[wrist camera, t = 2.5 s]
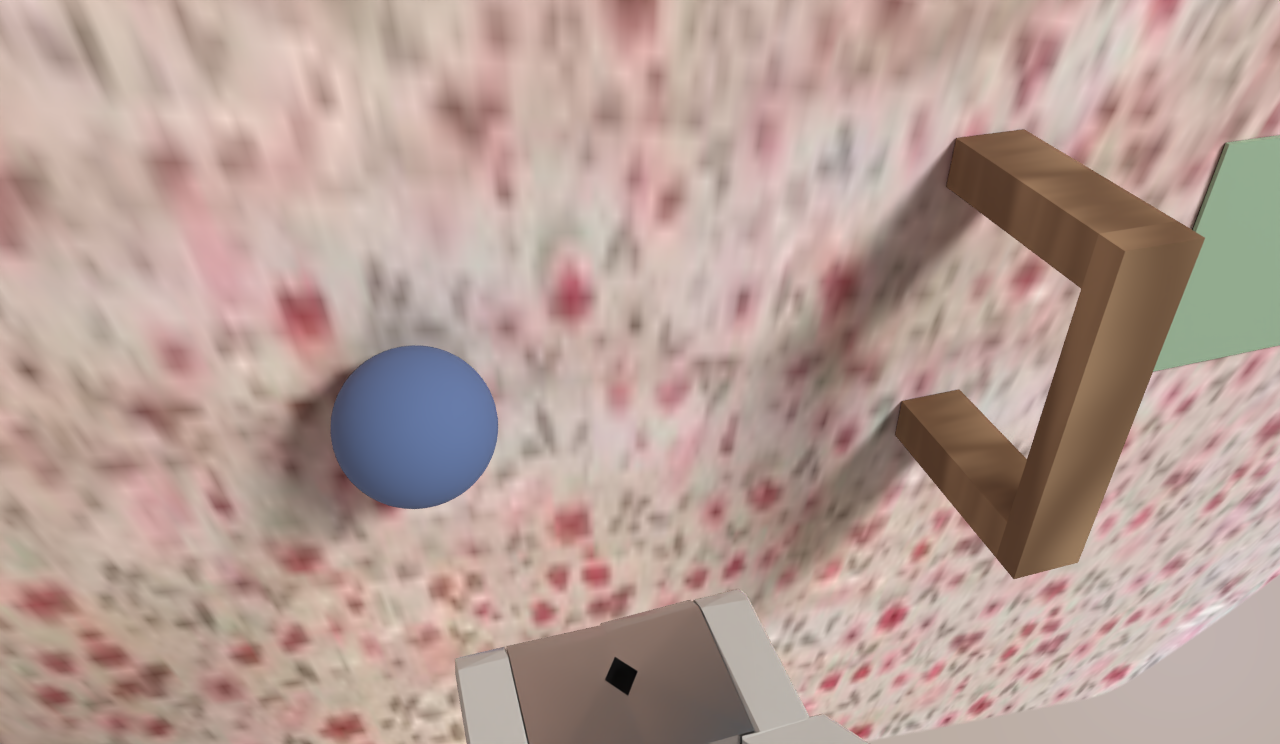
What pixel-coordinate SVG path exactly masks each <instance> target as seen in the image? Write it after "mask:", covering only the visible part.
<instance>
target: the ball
mask: <svg viewBox="0 0 1280 744" xmlns="http://www.w3.org/2000/svg"><path fill="white" fill-rule="evenodd" d="M497 435H498V417H497V412H496V407H495V403H494V400H493V397H492V395H491V393H490V390H489V389H488V387H487V385H486V383H485V382H484V381H483V379H482V378H481V377H480V375H479V374H478V373H477V372H476V371H475V370H474V369H473V368H472V367H471V366H470V365H469V364H467V363H466V362H465V361H463V360H462V359H460V358H459V357H457V356H455V355H453V354H451V353H449V352H447V351H444V350H441V349H438V348H433V347H428V346H403V347H398V348H393V349H390V350H387V351H384V352H382V353H379V354H377V355H375V356H373V357H372V358H370V359H368V360H367V361H365V362H364V363H363V364H362V365H360V366H359V367H358V368H357V369H356V370H355V371H354V372H353V373H352V374H351V375H350V376H349V378H348V379H347V380H346V382H345V383H344V385H343V386H342V388H341V390H340V392H339V394H338V395H337V398H336V401H335V403H334V407H333V411H332V416H331V440H332V445H333V450H334V453H335V456H336V458H337V461H338V463H339V465H340V467H341V469H342V470H343V472H344V473H345V474H346V476H347V477H348V478H349V480H350V481H351V482H352V483H353V484H354V485H355V486H356V487H357V488H358V489H359V490H361V491H362V492H363V493H365V494H366V495H367V496H369V497H371V498H373V499H375V500H376V501H379V502H381V503H384V504H386V505H389V506H393V507H398V508H406V509H420V508H428V507H433V506H437V505H440V504H443V503H446V502H448V501H450V500H452V499H454V498H456V497H457V496H459V495H461V494H462V493H464V492H465V491H466V490H468V489H469V488H470V487H471V486H472V485H473V484H474V483H475V482H476V481H477V480H478V479H479V477H480V476H481V475H482V474H483V472H484V471H485V469H486V468H487V466H488V464H489V462H490V460H491V458H492V455H493V453H494V449H495V446H496V442H497Z"/></svg>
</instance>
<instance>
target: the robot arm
mask: <svg viewBox="0 0 1280 744" xmlns="http://www.w3.org/2000/svg"><path fill="white" fill-rule="evenodd" d="M506 651H507V652H506ZM455 675H456V681H457V687H458V693H459V699H460V705H461V711H462V717H463V724H464V730H465V736H466V742H467V744H869V743H868V742H866V741H865V740H863V739H862V738H860V737H859V736H857V735H856V734H854V733H852V732H851V731H849V730H848V729H846V728H845V727H843V726H842V725H840V724H839V723H837V722H836V721H834V720H832V719H831V718H829V717H828V716H826V715H825V714H820V715H816V716H811V717H809V715H808V713H807V711H806V709H805V707H804V705H803V703H802V701H801V699H800V697H799V695H798V694H797V692H796V690H795V688H794V686H793V684H792V682H791V680H790V678H789V676H788V674H787V672H786V670H785V668H784V666H783V664H782V662H781V660H780V659H779V657H778V655H777V653H776V651H775V649H774V647H773V645H772V643H771V641H770V639H769V637H768V635H767V633H766V631H765V629H764V627H763V625H762V624H761V622H760V620H759V618H758V616H757V614H756V612H755V610H754V608H753V606H752V604H751V602H750V600H749V598H748V596H747V595H746V594H745V593H744V592H742V591H741V590H740V589H735V590H731V591H727V592H723V593H719V594H715V595H712V596H708V597H704V598H700V599H696V600H693V601H691V600H687V601H683V602H680V603H676V604H672V605H668V606H665V607H661V608H657V609H653V610H649V611H646V612H642V613H638V614H634V615H630V616H627V617H623V618H619V619H615V620H612V621H608V622H604V623H601V624H600V626H595V627H591V628H586V629H582V630H577V631H573V632H568V633H564V634H559V635H555V636H550V637H546V638H541V639H537V640H532V641H528V642H523V643H519V644H514V645H510V646H507V648H506V649H505V647H502V648H498V649H493V650H489V651H485V652H481V653H477V654H472V655H468V656H464V657H460V658H456V659H455Z"/></svg>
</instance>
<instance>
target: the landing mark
mask: <svg viewBox="0 0 1280 744" xmlns="http://www.w3.org/2000/svg"><path fill="white" fill-rule="evenodd" d="M1193 231H1195V232H1196V233H1198V234H1200V235H1201V236H1203V237H1205V240H1204V243H1203V245H1202V248H1201V250H1200V253H1199V255H1198V258H1197V260H1196V263H1195V266H1194V268H1193V271H1192V273H1191V276H1190V278H1189V281H1188V283H1187V286H1186V288H1185V291H1184V294H1183V296H1182V299H1181V301H1180V304H1179V306H1178V309H1177V311H1176V314H1175V316H1174V319H1173V322H1172V324H1171V327H1170V329H1169V332H1168V334H1167V337H1166V339H1165V342H1164V345H1163V347H1162V350H1161V352H1160V355H1159V357H1158V360H1157V362H1156V365H1155V367H1154V370H1153V371H1158V370H1163V369H1168V368H1172V367H1177V366H1182V365H1187V364H1192V363H1197V362H1201V361H1206V360H1211V359H1216V358H1221V357H1225V356H1230V355H1235V354H1240V353H1245V352H1249V351H1254V350H1259V349H1264V348H1269V347H1273V346H1278V345H1280V135H1278V136H1271V137H1264V138H1257V139H1250V140H1242V141H1235V142H1228V143H1226V144H1225V147H1224V149H1223V152H1222V154H1221V157H1220V160H1219V162H1218V165H1217V168H1216V170H1215V173H1214V175H1213V178H1212V181H1211V183H1210V186H1209V188H1208V191H1207V194H1206V196H1205V199H1204V202H1203V204H1202V207H1201V209H1200V212H1199V215H1198V217H1197V220H1196V223H1195V225H1194V228H1193Z"/></svg>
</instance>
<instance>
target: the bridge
mask: <svg viewBox="0 0 1280 744" xmlns="http://www.w3.org/2000/svg"><path fill="white" fill-rule="evenodd" d="M946 187H947V188H948V189H950V190H951V191H952V192H954V193H955V194H956V195H958V196H959V197H960V198H962V199H963V200H964V201H966V202H967V203H968V204H970V205H971V206H972V207H974V208H975V209H976V210H978V211H979V212H980V213H982V214H983V215H984V216H986V217H987V218H988V219H990V220H991V221H992V222H994V223H995V224H996V225H998V226H999V227H1000V228H1002V229H1003V230H1004V231H1006V232H1007V233H1008V234H1010V235H1011V236H1012V237H1014V238H1015V239H1016V240H1018V241H1019V242H1020V243H1022V244H1023V245H1024V246H1026V247H1027V248H1028V249H1029V250H1031V251H1032V252H1033V253H1035V254H1036V255H1037V256H1039V257H1040V258H1041V259H1043V260H1044V261H1045V262H1047V263H1048V264H1049V265H1051V266H1052V267H1053V268H1055V269H1056V270H1057V271H1059V272H1060V273H1061V274H1063V275H1064V276H1065V277H1067V278H1068V279H1069V280H1071V281H1072V282H1073V283H1075V284H1076V285H1077V286H1079V287H1080V288H1081V292H1080V295H1079V298H1078V301H1077V304H1076V307H1075V311H1074V314H1073V317H1072V320H1071V323H1070V326H1069V329H1068V333H1067V336H1066V339H1065V342H1064V345H1063V348H1062V351H1061V355H1060V358H1059V361H1058V364H1057V367H1056V370H1055V373H1054V377H1053V380H1052V383H1051V386H1050V389H1049V392H1048V395H1047V399H1046V402H1045V405H1044V408H1043V411H1042V414H1041V417H1040V421H1039V424H1038V427H1037V430H1036V433H1035V436H1034V439H1033V443H1032V446H1031V449H1030V452H1029V455H1028V458H1027V459H1026V458H1025V457H1024V456H1023V455H1022V454H1021V453H1020V452H1019V451H1018V450H1017V449H1016V448H1015V447H1014V446H1013V445H1012V443H1011V442H1010V441H1009V440H1008V439H1007V438H1006V437H1005V436H1004V435H1003V434H1002V433H1001V432H1000V431H999V430H998V429H997V428H996V427H995V426H994V425H993V424H992V423H991V422H990V421H989V420H988V419H987V418H986V417H985V416H984V415H983V413H982V412H981V411H980V410H979V409H978V408H977V407H976V406H975V405H974V404H973V403H972V402H971V401H970V400H969V399H968V398H967V397H966V396H965V395H964V394H963V393H962V392H961V391H960V390H955V391H950V392H945V393H940V394H935V395H930V396H925V397H920V398H915V399H910V400H905V401H902V403H901V408H900V413H899V418H898V423H897V428H896V432H895V435H896V437H897V438H898V439H899V440H900V442H901V443H902V444H903V445H904V446H905V448H906V449H907V450H908V451H909V452H910V454H911V455H912V456H913V457H914V459H915V460H916V461H917V462H918V463H919V465H920V466H921V467H922V468H923V469H924V471H925V472H926V473H927V474H928V476H929V477H930V478H931V479H932V480H933V482H934V483H935V484H936V485H937V486H938V488H939V489H940V490H941V491H942V493H943V494H944V495H945V496H946V497H947V499H948V500H949V501H950V502H951V504H952V505H953V506H954V507H955V508H956V510H957V511H958V512H959V513H960V514H961V516H962V517H963V518H964V519H965V521H966V522H967V523H968V524H969V525H970V527H971V528H972V529H973V530H974V531H975V533H976V534H977V535H978V536H979V538H980V539H981V540H982V541H983V542H984V544H985V545H986V546H987V547H988V548H989V550H990V551H991V552H992V553H993V555H994V556H995V557H996V558H997V559H998V561H999V562H1000V563H1001V564H1002V565H1003V567H1004V568H1005V569H1006V570H1007V572H1008V573H1009V574H1010V575H1011V576H1012V578H1013V579H1016V578H1020V577H1024V576H1028V575H1032V574H1036V573H1039V572H1043V571H1047V570H1051V569H1055V568H1059V567H1062V566H1066V565H1070V564H1074V563H1078V561H1079V559H1080V556H1081V554H1082V551H1083V549H1084V546H1085V543H1086V541H1087V538H1088V536H1089V533H1090V531H1091V528H1092V526H1093V523H1094V520H1095V518H1096V515H1097V513H1098V510H1099V508H1100V505H1101V503H1102V500H1103V498H1104V495H1105V492H1106V490H1107V487H1108V485H1109V482H1110V480H1111V477H1112V475H1113V472H1114V469H1115V467H1116V464H1117V462H1118V459H1119V457H1120V454H1121V452H1122V449H1123V447H1124V444H1125V441H1126V439H1127V436H1128V434H1129V431H1130V429H1131V426H1132V424H1133V421H1134V418H1135V416H1136V413H1137V411H1138V408H1139V406H1140V403H1141V401H1142V398H1143V396H1144V393H1145V390H1146V388H1147V385H1148V383H1149V380H1150V378H1151V375H1152V373H1153V370H1154V367H1155V365H1156V362H1157V360H1158V357H1159V355H1160V352H1161V350H1162V347H1163V345H1164V342H1165V339H1166V337H1167V334H1168V332H1169V329H1170V327H1171V324H1172V322H1173V319H1174V316H1175V314H1176V311H1177V309H1178V306H1179V304H1180V301H1181V299H1182V296H1183V294H1184V291H1185V288H1186V286H1187V283H1188V281H1189V278H1190V276H1191V273H1192V271H1193V268H1194V266H1195V263H1196V260H1197V258H1198V255H1199V253H1200V250H1201V248H1202V245H1203V243H1204V240H1205V237H1203V236H1201V235H1200V234H1198V233H1196V232H1195V231H1193V230H1191V229H1190V228H1188V227H1186V226H1185V225H1183V224H1181V223H1180V222H1178V221H1176V220H1175V219H1173V218H1171V217H1170V216H1168V215H1166V214H1165V213H1163V212H1161V211H1160V210H1158V209H1156V208H1155V207H1153V206H1151V205H1150V204H1148V203H1146V202H1145V201H1143V200H1141V199H1140V198H1138V197H1136V196H1135V195H1133V194H1131V193H1130V192H1128V191H1126V190H1124V189H1123V188H1121V187H1119V186H1118V185H1116V184H1114V183H1113V182H1111V181H1109V180H1108V179H1106V178H1104V177H1103V176H1101V175H1099V174H1098V173H1096V172H1094V171H1093V170H1091V169H1089V168H1088V167H1086V166H1084V165H1083V164H1081V163H1079V162H1078V161H1076V160H1074V159H1073V158H1071V157H1069V156H1068V155H1066V154H1064V153H1063V152H1061V151H1059V150H1058V149H1056V148H1054V147H1053V146H1051V145H1049V144H1048V143H1046V142H1044V141H1043V140H1041V139H1039V138H1038V137H1036V136H1034V135H1033V134H1031V133H1029V132H1028V131H1026V130H1024V129H1023V130H1016V131H1008V132H1000V133H992V134H984V135H977V136H969V137H961V138H956V142H955V147H954V152H953V156H952V161H951V166H950V171H949V176H948V181H947V185H946Z"/></svg>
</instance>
